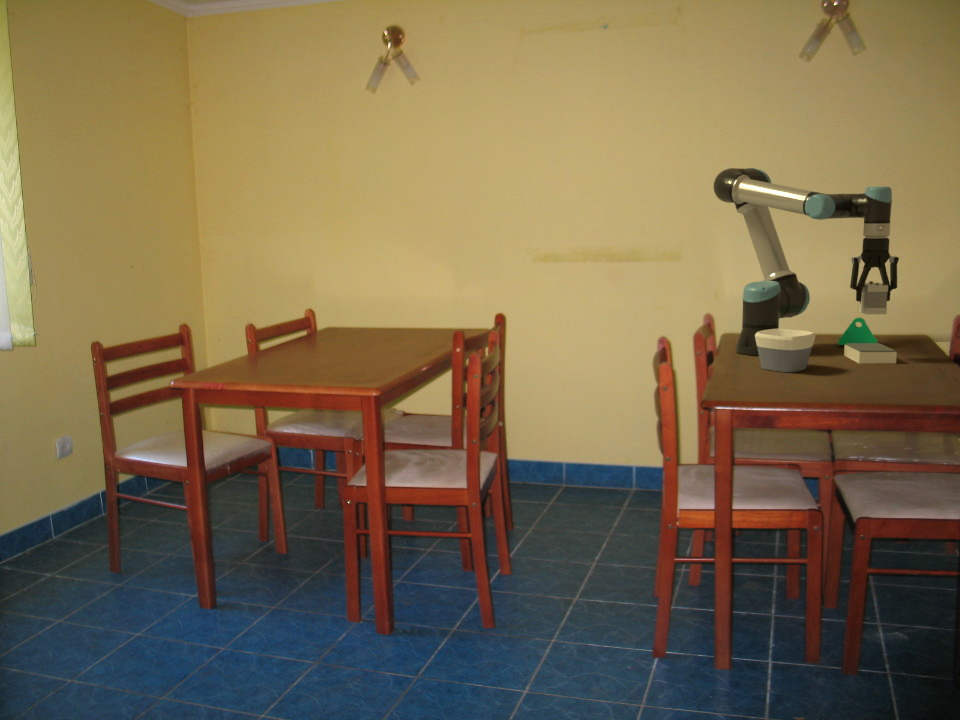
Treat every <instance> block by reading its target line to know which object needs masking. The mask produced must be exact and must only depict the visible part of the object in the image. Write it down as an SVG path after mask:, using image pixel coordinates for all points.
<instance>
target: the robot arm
mask: <svg viewBox="0 0 960 720" xmlns="http://www.w3.org/2000/svg"><path fill="white" fill-rule="evenodd" d="M713 192H714V194H715V197H717V198H718V199H719V200H720V201H722V202H724V203H727V204H728V203H729V204H730V203H734V205H735V208H736V212H737V213H739V214H741V215H742V216H743V219H744V221H745V225H746V227H747V230H748V231H747V232H748V233H749V236H750V240H751V242H752V245H753V248H754V251H755V254H756V258H757V260H758V263H759V266H760V270H761V272H762V274H763V279H764V280H760V281H753V282H750V283H747V284H746V285H745V286H744V287H743V292H742V318H741V319H742V321H741V322H742V323H741V325H742V326H741V330H740V334H739V337H738V340H737V342H736V345H735V352H736V354H741V355H746V356H758V357H759V353H758V348H757V344H756V339H755V334H756V333H757V332H759V331H763V330H770V329H780V328H779V326H780V319H785V318H793V317H795V316H796V317H797V316H798V315H801V314H803V313H804V312H805V311H806V309H807V307H808V306H809V303H810V299H811V298H810V297H811V296H810V291H809V288H808V287H807V285H805V284H804V283H802V282H801V281H799V278H798V277H797V273H795V272H794V271H792V270H790V268H789V264H788V261H787V259H786V256H785V252H784V250H783V247H782V244H781V242H780V241H781V240H780V238H779V236H778V232H777V230H776V226H775V223H774V220H773V217H772V215H771V211H770V208H771V209H776V210H781V211H785V212H790V213H795V214H799V215H804V216H808V217H809V218H810V219H814V220H820V221H821V220H830V219H857V218H858V219H859V218H860V219H863V230H862V231H863V232H862V233H863V234H862V236H863V237H864V238H862V252H861V254H860V255H859V256H856V257H855V256H853V257H851V263H852V268H851V276H850V278H851V279H850V284H849V285H850V289H851V290H854V291H855V293H856V294H855V301H856V302H858V305H859V310H858V309H857V311H858V312H859V313H861V312H864V297H865V292H864V291H862V289H863V287H864V284H865V283H867V282H866V281H867V278H868V276H869V273H870V272H871V270H872V269H873V268H878V271H879V273H880V274H879V275H880V277H881V281H882V284H886V285H888V292H887V302H890V301H891V292H892V290H896V289H898V263H899V260H900V257H898V256H894V255H891V253H890V238H888V237H889V236H890V235H891V232H890V231H891V216H892V215H891V214H892V203H893V194H892V193H893V192H892V188H891V187H890V186H868V187H866V188H865V191H864V193H832V194H831V193H822V192H817V191H813V190H807V189H801V188H796V187H793V186H792V187H791V186H787V185H781V184H777V183H772V181H771V177H770V175H768V174H767V173H766V172H765V171H764V170H762V169H758V168H755V167H747V168H734V167H733V168H727V169H723V170H722V171H721V172H719V173H718V174H717V176H716V177H715V179H714V181H713ZM861 261H862V262H863V263H864V265H863V267H862V271H861V274H860V277H859V271H860V264H861ZM888 261H889V263H890V264H889V270H890V271H889V273H890V274H889V277H888V273H887V267H886V263H887V262H888ZM858 277H859V278H858ZM889 278H890V281H889ZM858 279H859V280H858Z"/></svg>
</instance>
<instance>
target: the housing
mask: <svg viewBox="0 0 960 720" xmlns="http://www.w3.org/2000/svg"><path fill="white" fill-rule="evenodd" d="M862 291H864V292H865V297H864V312H860V313H861V314H865V315H887V313H888V312H887V310H888V307H887V306H888V305H887V303H888V301H887V292H888V285H886V284H883V282H882V283H881V282H874V281H873V280H870V281H869V280H868V282H865V284H864V287H863V289H862ZM858 310H859V304H858V307H857V311H858Z"/></svg>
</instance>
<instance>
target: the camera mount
mask: <svg viewBox="0 0 960 720" xmlns="http://www.w3.org/2000/svg"><path fill="white" fill-rule="evenodd" d="M856 323H860V324H861V326H857V325H856ZM878 340H879V339H878V338H876V337H875V335H874V334H873V333H872V331H871V329H870V327H869V325H868V324H867V322H866V320H865V319H864V318H862V317H856V318H854V319H853V320H852V321H851V323H850V324H849V325H848V327H847V328H846V329H845V331H844V332H843V333H842V334H841V336H840V337H839V339H838V345H839V346H840V345H841V346H845V345H846V343H879V342H878ZM838 345H837V346H838Z"/></svg>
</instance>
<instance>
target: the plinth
mask: <svg viewBox="0 0 960 720" xmlns="http://www.w3.org/2000/svg"><path fill="white" fill-rule="evenodd" d="M843 351H844V353H843V356H844V357H847V358H848V359H850V360H852V361H854V362H855V363H857V364H859V365H860V364H861V365H862V364H864V365H865V364H869V365H871V364H873V365H875V364H876V365H877V364H879V365H880V364H881V365H884V364H887V365H888V364H897V351H896V350H895V349H893V348H891V347H888V346H886V345H884V344H881V343H880V342H878V343H846V345H844V349H843Z"/></svg>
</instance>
